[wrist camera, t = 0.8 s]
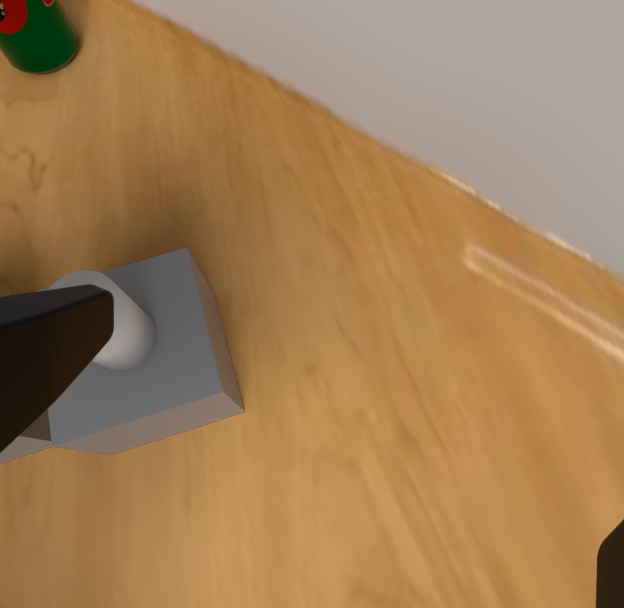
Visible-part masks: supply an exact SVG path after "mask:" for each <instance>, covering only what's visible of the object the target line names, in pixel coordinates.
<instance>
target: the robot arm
mask: <svg viewBox="0 0 624 608" xmlns="http://www.w3.org/2000/svg"><path fill="white" fill-rule="evenodd" d="M113 331H114V297H113V295H112V293H111V292H110V291H108V290H106V289H103V288H101V287H98V286H96V285H93V284H86V285H79V286H72V287H66V288H59V289H52V290H45V291H38V292H31V293H24V294H17V295H10V296H4V297H0V453H1V452H2V451H3V450H4V449H6V448H7V447H8V446H9V445H10V444H11V443H12V442H13V441H14V440H15V439H16V438H17V437H18V436H19V435H21V434H22V433H23V432H24V431H25V430H26V429H27V428H28V427H29V426H30V425H31V424H32V423H33V422H34V421H36V420H37V419H38V418H39V417H40V416H41V415H42V414H43V413H44V412H45V411H46V410H47V409H48V408H49V407H50V406H51V405H52V404H53V403H54V402H55V401H56V400H57V399H58V398H59V397H60V396H61V395H62V394H63V393H64V392H65V391H66V389H67V388H68V387H69V386H70V385H71V384H72V383H73V381H74V380H75V379H76V378H77V377H78V376H79V375H80V374H81V372H82V371H83V370H84V369H85V368H86V367H87V366H88V364H89V363H90V362H91V361H92V360H93V359H94V358H95V356H96V355H97V354H98V353H99V352H100V351H101V350H102V348H103V347H104V346H105V345H106V344H107V343H108V341H109V340H110V339H111V337H112V334H113ZM596 608H624V519H623V521H622V522H621V523H620V524H619V525H618V526H617V527H616V528H615V529H614V530H613V531H612V532H611V533H610V534H609V535H608V536H607V537H606V539H605V540H604V541H603V542H602V544H601V546H600V548H599V551H598V555H597V581H596Z"/></svg>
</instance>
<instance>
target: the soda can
mask: <svg viewBox="0 0 624 608" xmlns="http://www.w3.org/2000/svg"><path fill="white" fill-rule="evenodd" d="M77 45H78V35H77V32H76V30H75V28H74V27H73V25H72V23H71V21H70V19H69V18H68V16H67V14H66V12H65V10H64V9H63V7H62V5H61V3H60V1H59V0H0V50H1V51H2V53H3V54H4V55H5V57H6V58H7V59H8V61H9V62H10V63H11V64H12V65H13V66H14V67H15V68H17V69H19V70H22V71H24V72H28V73H32V74H47V73H51V72H54V71H57V70H59V69H61V68H63V67H64V66H65V65H67V64H68V63H69V62H70V61H71V60H72V58H73V57H74V55H75V52H76V49H77Z"/></svg>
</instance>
